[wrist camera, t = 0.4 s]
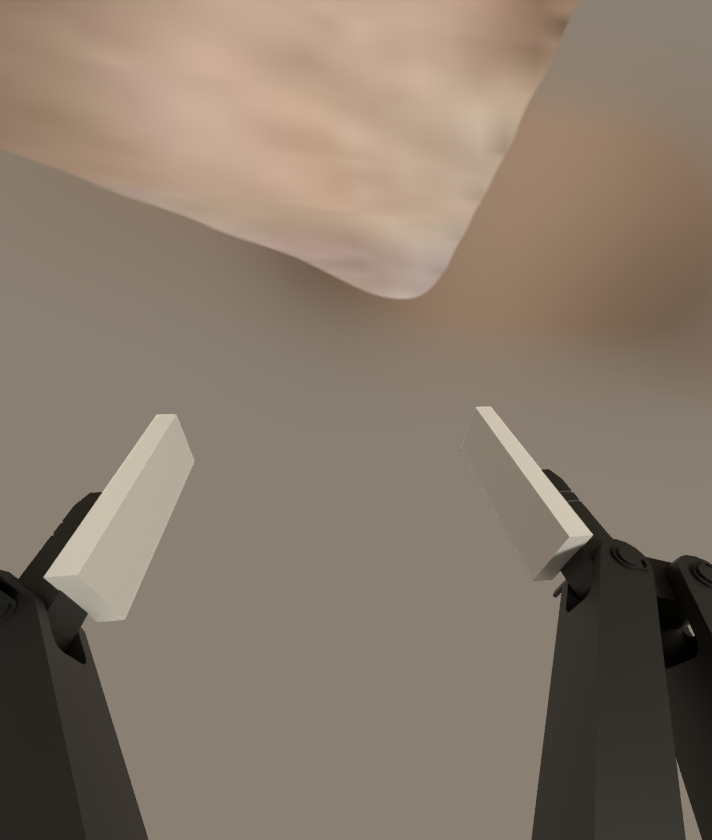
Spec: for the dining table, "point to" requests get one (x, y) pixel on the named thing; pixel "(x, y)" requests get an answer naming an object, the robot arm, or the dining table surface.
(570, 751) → the robot arm
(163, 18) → the dining table surface
